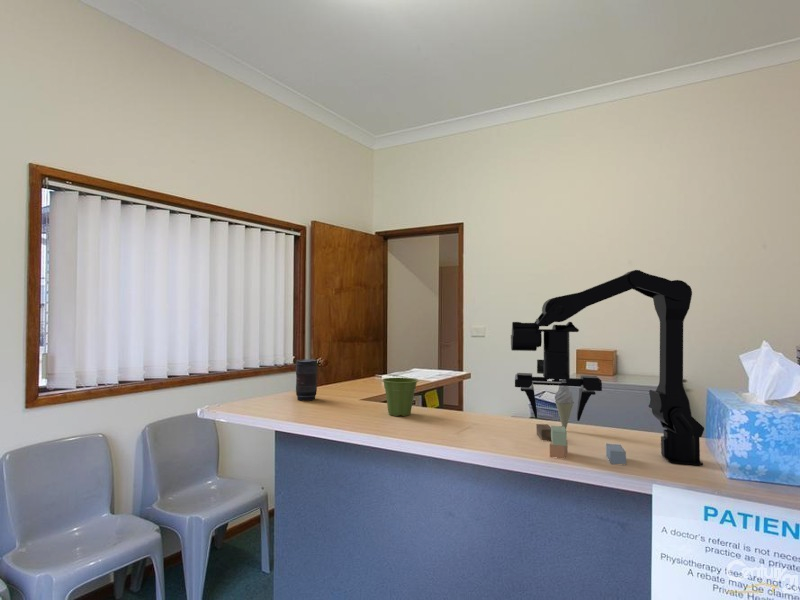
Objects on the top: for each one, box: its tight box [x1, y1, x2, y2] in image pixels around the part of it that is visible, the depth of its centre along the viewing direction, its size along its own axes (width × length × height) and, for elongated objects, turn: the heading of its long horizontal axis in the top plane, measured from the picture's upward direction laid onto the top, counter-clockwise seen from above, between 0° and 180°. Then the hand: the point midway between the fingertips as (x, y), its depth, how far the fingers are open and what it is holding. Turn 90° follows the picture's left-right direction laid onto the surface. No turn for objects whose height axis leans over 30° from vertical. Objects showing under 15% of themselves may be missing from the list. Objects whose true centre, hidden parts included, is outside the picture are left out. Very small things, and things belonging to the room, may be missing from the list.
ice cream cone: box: [554, 382, 575, 430], centre depth 128 cm, size 5×5×15 cm
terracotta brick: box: [549, 441, 569, 459], centre depth 105 cm, size 3×6×3 cm, turn 152°
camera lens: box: [295, 358, 318, 401], centre depth 176 cm, size 8×8×15 cm
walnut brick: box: [535, 423, 552, 442], centre depth 121 cm, size 3×6×3 cm, turn 175°
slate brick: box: [605, 443, 627, 465], centre depth 101 cm, size 3×6×3 cm, turn 164°
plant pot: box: [381, 377, 419, 417], centre depth 149 cm, size 12×12×11 cm
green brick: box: [550, 425, 568, 446], centre depth 106 cm, size 3×6×3 cm, turn 165°
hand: (556, 419), depth 106 cm, fingers open, 9 cm apart
